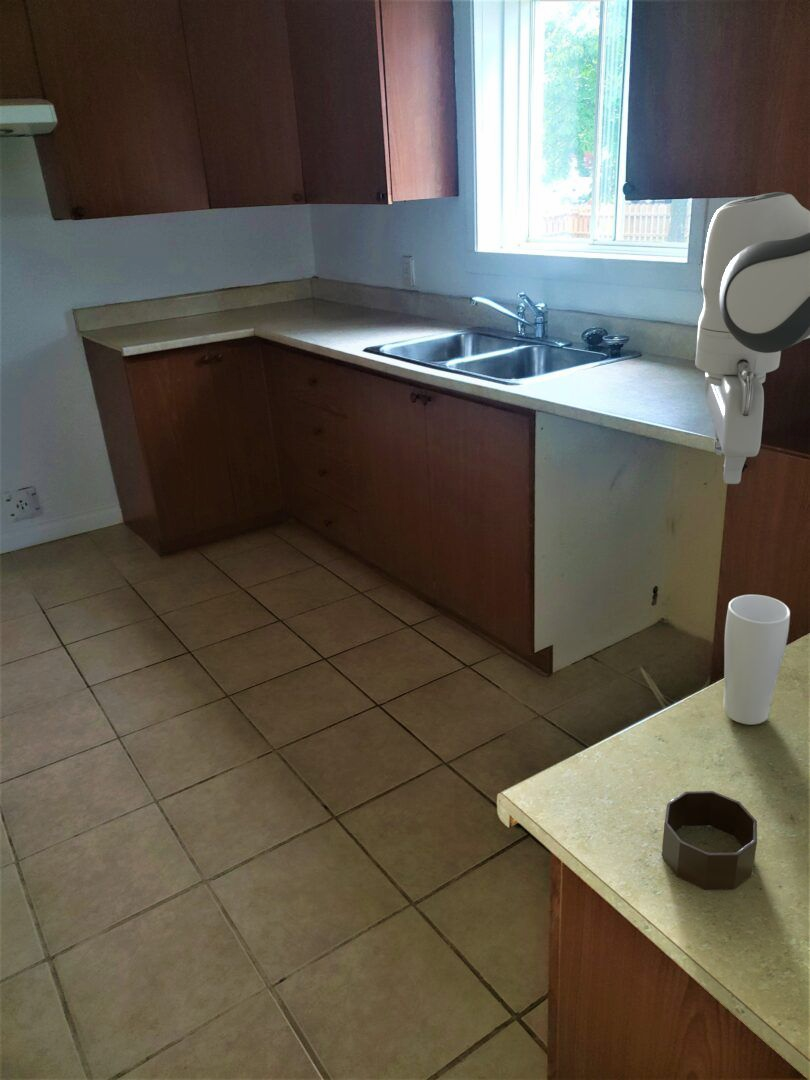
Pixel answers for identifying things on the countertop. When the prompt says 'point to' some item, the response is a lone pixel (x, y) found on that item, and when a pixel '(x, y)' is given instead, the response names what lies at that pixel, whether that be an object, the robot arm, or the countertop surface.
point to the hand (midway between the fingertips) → (726, 466)
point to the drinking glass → (753, 655)
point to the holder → (697, 863)
